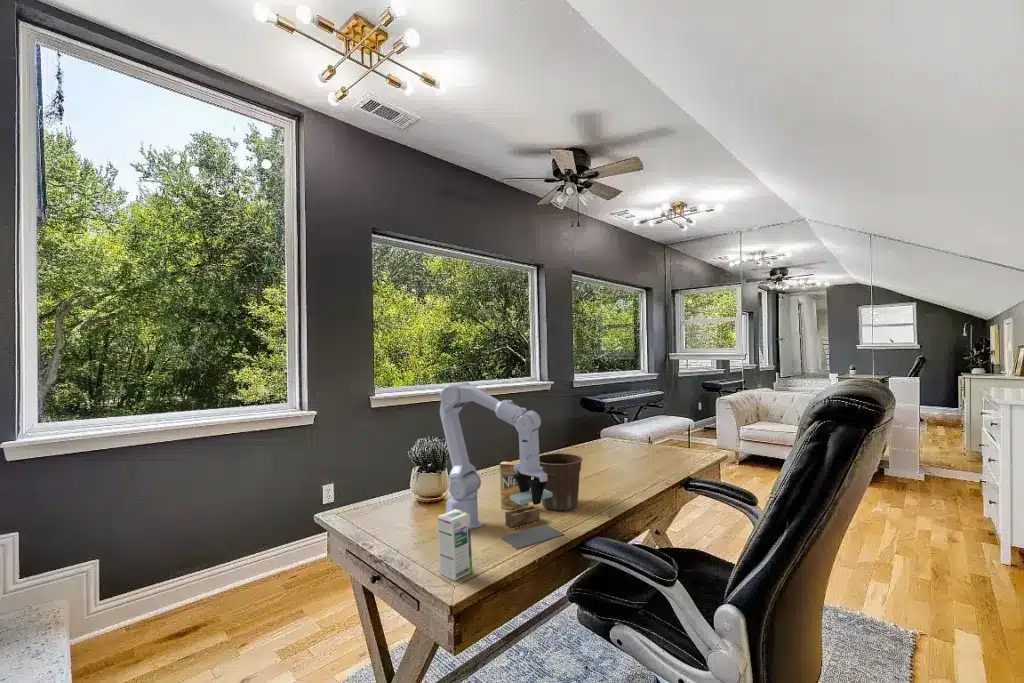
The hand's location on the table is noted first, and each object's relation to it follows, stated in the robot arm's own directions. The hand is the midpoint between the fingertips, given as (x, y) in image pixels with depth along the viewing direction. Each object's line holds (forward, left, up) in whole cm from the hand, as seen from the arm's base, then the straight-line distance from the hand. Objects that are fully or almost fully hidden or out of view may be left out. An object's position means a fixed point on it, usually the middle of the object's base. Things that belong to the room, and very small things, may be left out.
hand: (531, 501), depth 132 cm
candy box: (+8, +23, -10) cm, 26 cm away
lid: (0, 0, +1) cm, 1 cm away
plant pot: (+22, +16, -10) cm, 29 cm away
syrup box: (-27, -7, -10) cm, 30 cm away
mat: (0, 0, -10) cm, 10 cm away
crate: (+3, +10, -10) cm, 14 cm away
